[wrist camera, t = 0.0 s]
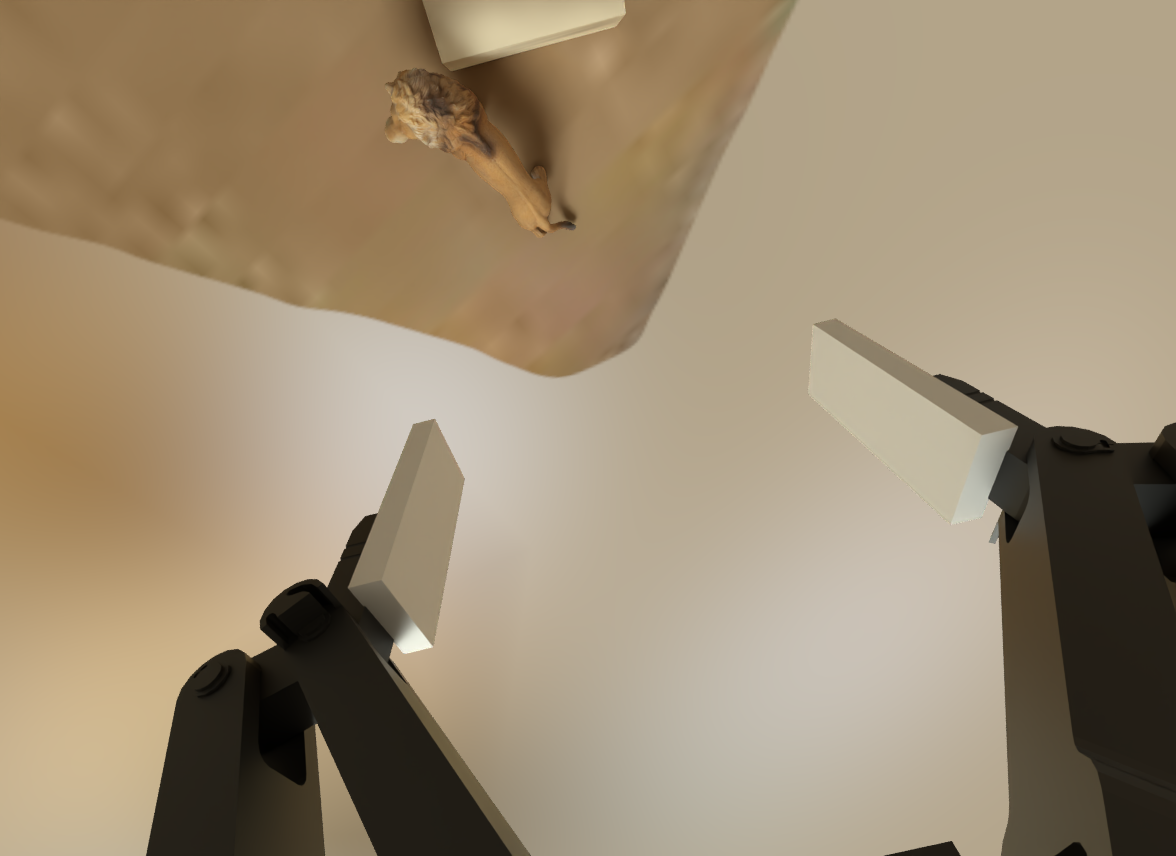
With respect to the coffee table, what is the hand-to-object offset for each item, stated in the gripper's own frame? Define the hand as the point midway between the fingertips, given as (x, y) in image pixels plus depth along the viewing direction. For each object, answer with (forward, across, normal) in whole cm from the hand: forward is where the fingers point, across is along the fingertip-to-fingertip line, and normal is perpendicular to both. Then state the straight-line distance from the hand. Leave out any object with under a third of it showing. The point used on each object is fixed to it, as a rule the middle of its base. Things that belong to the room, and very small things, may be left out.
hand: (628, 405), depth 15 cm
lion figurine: (+28, -4, +7) cm, 29 cm away
